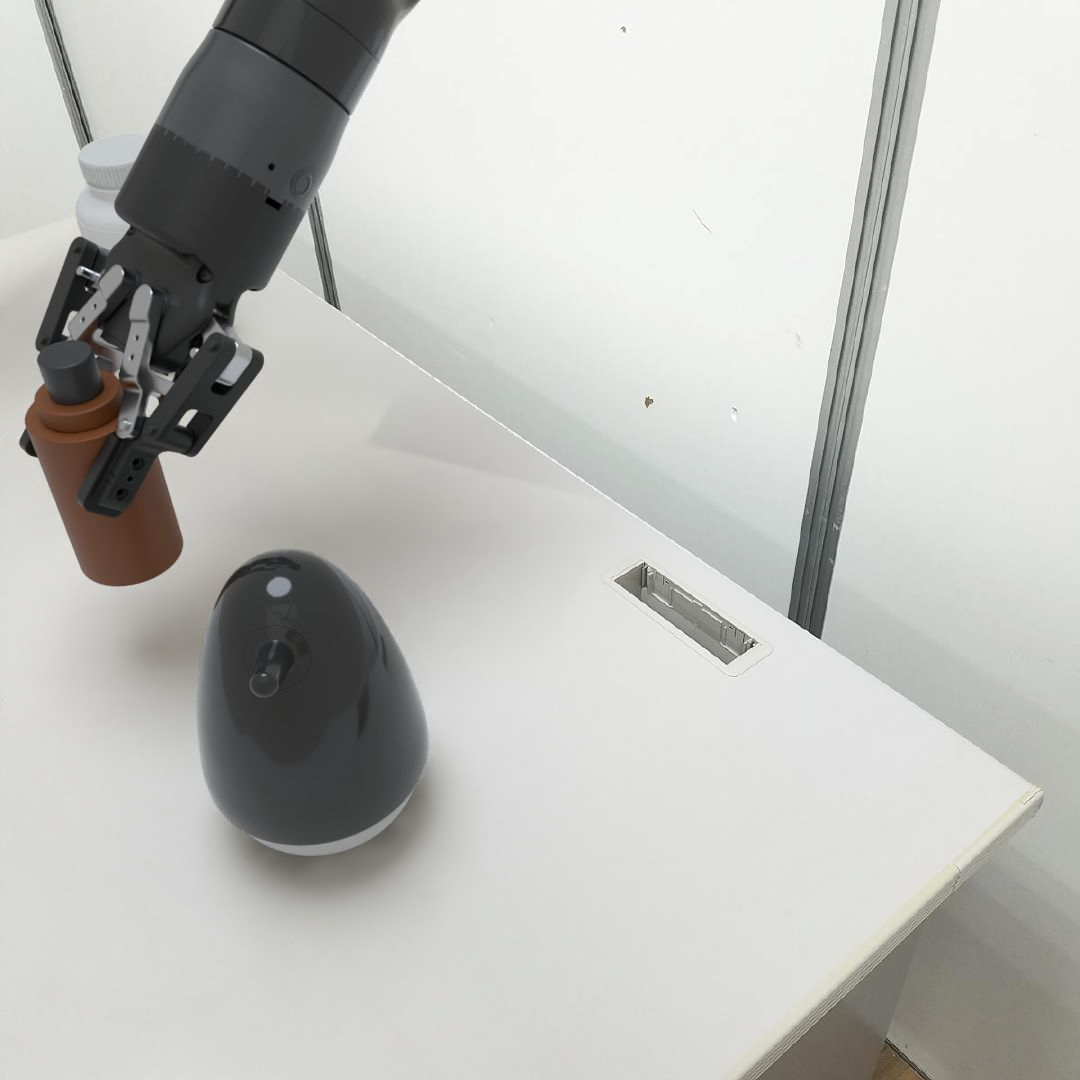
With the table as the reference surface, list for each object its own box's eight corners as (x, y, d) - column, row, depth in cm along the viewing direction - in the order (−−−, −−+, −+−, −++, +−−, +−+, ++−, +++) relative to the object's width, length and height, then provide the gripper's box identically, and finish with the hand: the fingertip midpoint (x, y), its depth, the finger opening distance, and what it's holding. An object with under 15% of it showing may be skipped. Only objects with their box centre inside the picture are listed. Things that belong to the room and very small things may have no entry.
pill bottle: (96, 363, 84) (33, 167, 74) (149, 308, 90) (97, 120, 80) (195, 376, 83) (144, 178, 73) (242, 320, 88) (201, 129, 78)
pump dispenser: (203, 901, 51) (113, 674, 41) (239, 719, 59) (171, 490, 49) (432, 891, 51) (398, 662, 41) (437, 710, 59) (411, 481, 49)
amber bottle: (58, 571, 58) (-23, 372, 50) (122, 509, 62) (56, 314, 53) (142, 597, 56) (73, 396, 48) (203, 532, 60) (148, 335, 52)
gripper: (90, 80, 53) (-71, 398, 55) (264, 172, 45) (70, 539, 47) (212, 156, 59) (64, 440, 61) (383, 249, 52) (208, 570, 53)
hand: (67, 481), depth 54 cm, fingers closed on amber bottle, 5 cm apart
